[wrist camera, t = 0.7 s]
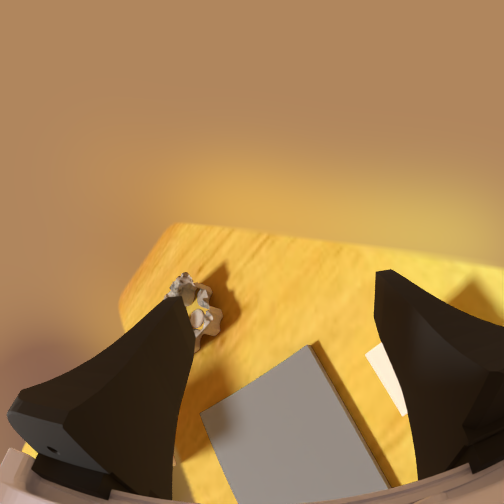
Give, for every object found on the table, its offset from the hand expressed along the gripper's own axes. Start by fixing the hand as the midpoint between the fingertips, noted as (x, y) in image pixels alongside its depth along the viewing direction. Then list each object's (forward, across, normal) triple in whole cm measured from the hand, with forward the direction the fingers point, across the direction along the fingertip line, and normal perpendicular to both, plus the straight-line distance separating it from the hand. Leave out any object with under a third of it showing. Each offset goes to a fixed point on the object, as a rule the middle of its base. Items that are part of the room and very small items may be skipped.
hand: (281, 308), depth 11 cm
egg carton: (+19, +12, +15) cm, 27 cm away
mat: (+4, +1, +20) cm, 20 cm away
